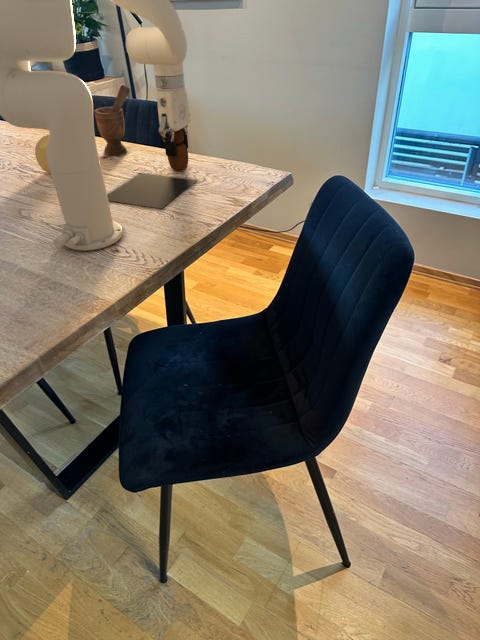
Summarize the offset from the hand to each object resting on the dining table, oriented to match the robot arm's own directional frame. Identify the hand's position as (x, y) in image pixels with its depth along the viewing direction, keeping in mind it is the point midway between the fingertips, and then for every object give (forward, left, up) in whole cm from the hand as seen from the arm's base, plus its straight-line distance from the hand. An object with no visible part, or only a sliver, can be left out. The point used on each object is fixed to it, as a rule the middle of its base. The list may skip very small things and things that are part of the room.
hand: (177, 151), depth 124 cm
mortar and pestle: (+9, +26, -5) cm, 28 cm away
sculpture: (-12, +33, -5) cm, 36 cm away
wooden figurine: (0, 0, -5) cm, 5 cm away
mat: (-17, 0, -5) cm, 18 cm away
